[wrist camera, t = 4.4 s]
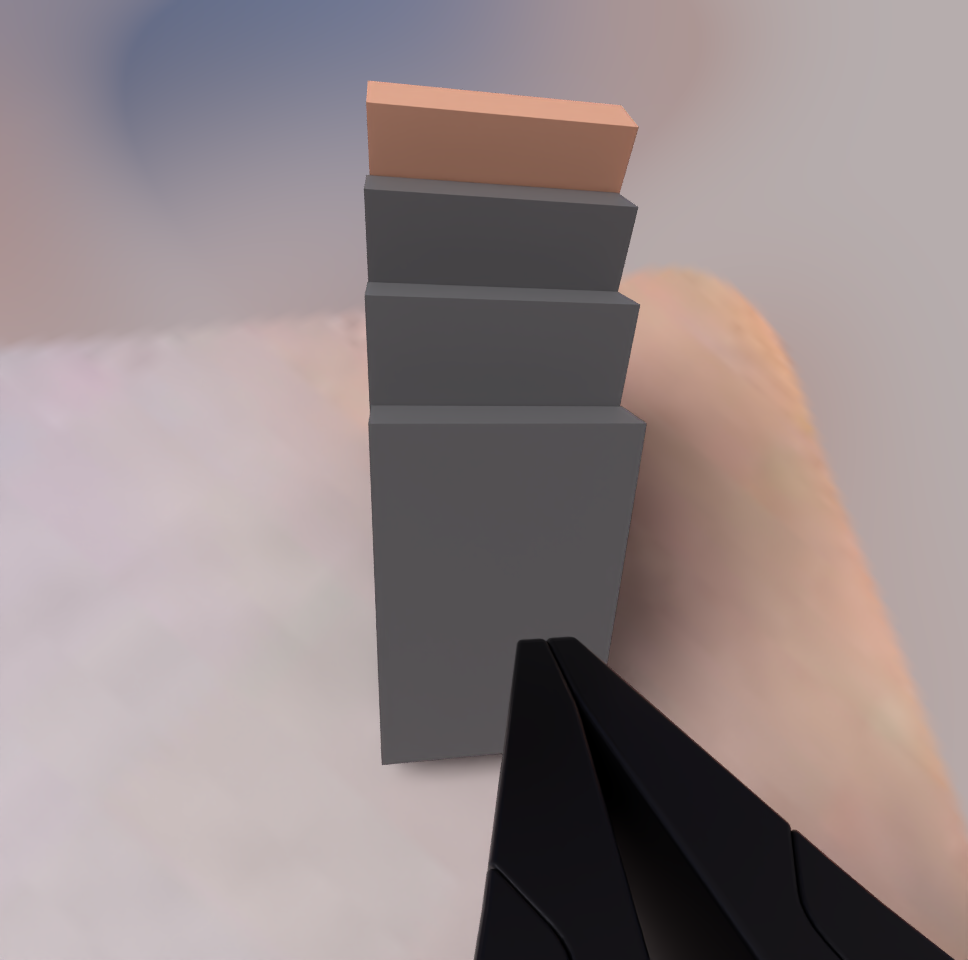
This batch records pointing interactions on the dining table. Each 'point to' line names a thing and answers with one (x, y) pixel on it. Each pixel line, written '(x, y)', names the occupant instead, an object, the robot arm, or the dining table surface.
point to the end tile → (496, 138)
